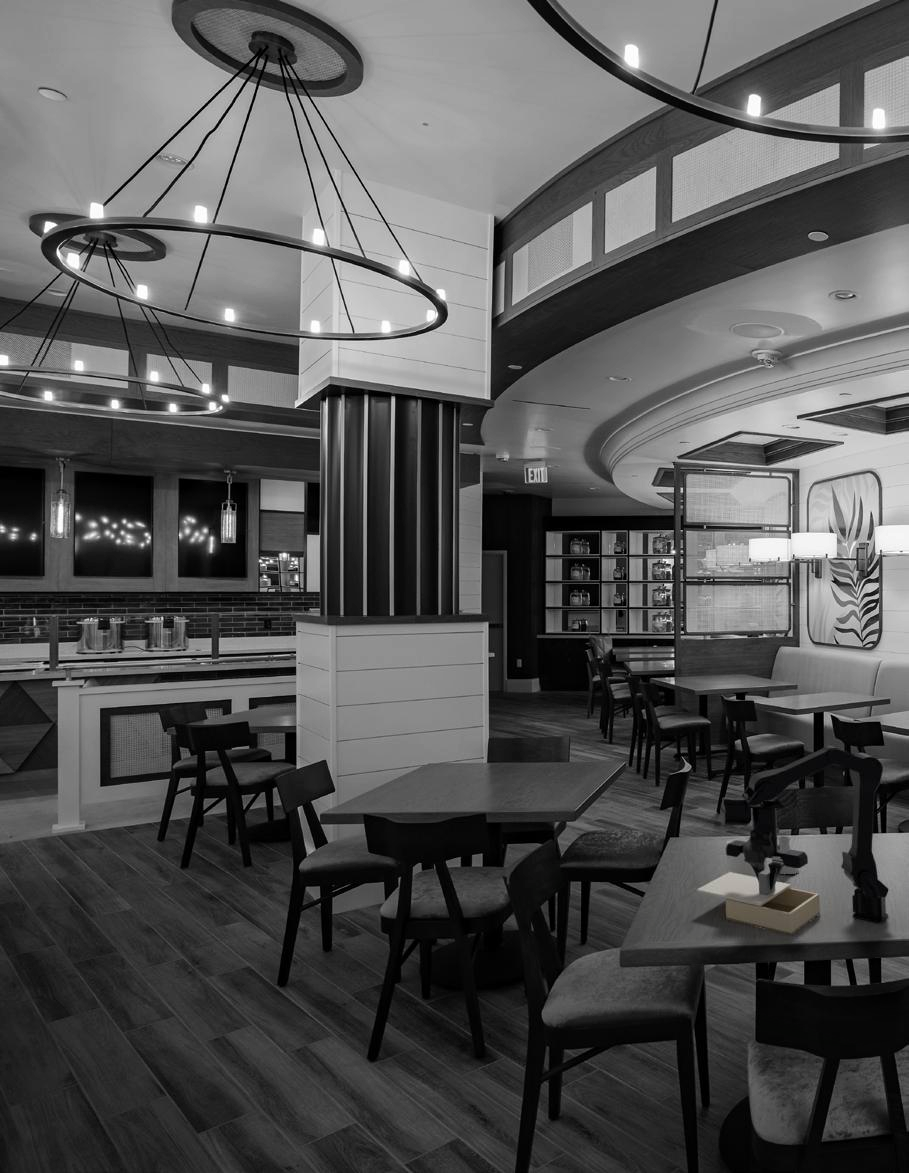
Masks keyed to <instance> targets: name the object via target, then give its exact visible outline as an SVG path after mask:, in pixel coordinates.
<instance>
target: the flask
mask: <svg viewBox="0 0 909 1173" xmlns="http://www.w3.org/2000/svg"><path fill="white" fill-rule="evenodd" d="M777 840H778V845H780V849H779V850H778V852H783V853H786V852H787V851H789V850H791V846H790V841H791V837H789V836H785V835H779V836H777ZM796 873H797V874H799V873H800V871H799V868H792V867H787V866H783V868H782V869H781V871H780V874H779V875H782V874H784V875H783V876H786V875H785V874H795V875H797V874H796Z"/></svg>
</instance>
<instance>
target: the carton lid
mask: <svg viewBox="0 0 909 1173" xmlns="http://www.w3.org/2000/svg"><path fill="white" fill-rule="evenodd" d="M758 875H759V882H758V879H757V877H752V876H747V875H742V874H737V873H732V872H729V873H727V872H726V873H725V874H723V875H721V876H720V877H717V878H716V879H714V880H712V881H710V882H708V883H706V884H705V885H702V886H701V887H698V888H697V889H696V892H697V893H700V894H701V893H702V894H706V895H708V896H709V895H710V896H713V897H717V898H722V899H731V900H735V901H740V902H744V903H748V904H753V905H757V906H762V905H763V904H765V903H766V902H768V901H769V900H771V899H773V898H774V897H776V896H777V895H779V894H780V893H782V892H784V891H785V890H787V889H788V888H791V887H792V884H790V883H785V882H780V881H776V884H775V886H774V889H773V890H770V868H767V869H765V870H763V871H762V872H760V873H758Z"/></svg>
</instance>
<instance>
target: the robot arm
mask: <svg viewBox="0 0 909 1173" xmlns="http://www.w3.org/2000/svg"><path fill="white" fill-rule="evenodd" d="M833 765H836V766H840V767H843V768H846V769H848V770H849V774H850V779H851V783H852V786H853V790H854V791H853V792H854V793H853V809H852V813H853V814H852V834H851V847H850V848H849V850H848V852H846V851H842V854H841V855H842V856H841V857H842V863H841V866H840V867H841V869H843V873H844V875H845V877H847V879H848V880H849V881H851V882H852V885H853V887H855V889H854V892H853V893H854V894H853V895H852V897H851V898H852V899H851V900H852V901H851V902H852V912H853V914H852V918H857V919H860V920H866V921H868V922H869V921H870V922H875V923H879V924H880V923H883V921H885V920H886V919H888V917H889V914H888V913H887V910H886V909H887V908H886V907H887V905H886V898H887V895H888V893H889V888H888V887H887V886H886V885H885V884H884V883H883V882H882V881H881V880H879V879H878V878H879V876H878V869H877V863H876V860H875V857H874V854H873V832H874V816H875V814H874V813H875V812H874V810H875V794H876V792H877V790H878V787H879V786H880V784H881V781H882V776H883V771H884V767H883V764H882V762H881V761H880V760H879V759H878V758H876V757H874V756H872V755H869V754H867V753H865V752H858V753H851V752H849V751H845V750H842V749H839V748H837V747H835V746H833V745H826V746H824V747H822V748H821V749H819V750H817V751H814V752H812V753H811V754H809V755H808V754H807V755H806V756H804V757H802V758H800V759H798V760H795V761H794V762H790V763H789V764H787V765H785V766H783V767H780V768H775V769H773V768H772V769H767V770H764V771H760V772H756V773H754V774H753V775H751V776H750V778H749V782H748V786H747V788H746V789H744V791H743V792H742V795H741V796H740V798H737V797H732V798H731V797H722V798H721V804H720V809H719V812H720V813H719V814H720V821H721V825H722V826H727V827H730V826H734V827H736V826H737V827H739V826H743V827H744V826H745V827H746V826H748V824H750V823H751V822H752V829H750V833H749V838H750V839H749V840H748V841H747V842H744V841H738V840H735V841H733V842H731V843H729V844H728V845H727V846H725V855H726V856H727V855H728V856H733V857H738V856H739V855H740V854H741V853H744V857H745V859H744V861H745V862H748V863H749V864H750V865H751V866H752V868H753V870H754V872H755V874H756V877H757V879H758V882H759V875H758V873H760V872H762V871H763V870H765V868H764V861H765V859H766V860H767V859H771V862H770V863H768V864H767V865H768V869H770V890H773V889H774V886H775V884H776V882H778V878H779V875H780V874H779V873H780V871H781V869H782V868H783V866H787V867H792V868H798V869H800V868H803V867H804V866H807V864H808V863H809V861H808V859H809V858H808V855H807V853H806V852H805V851H802V850H801V851H800V850H795V849H790V850H789V851H787V852H786V853H783V852H778V850H779V849H780V845H779V840H778V834H779V833H780V828H778V824H777V823H778V820H777V818H778V817H777V809H785V808H786V805H785V804H783V803H782V802H781V801H780V799H779V798H778V796H779V795H780V794H783V792H785V790H786V789H788V787H789V786H790V785H792V784H794V783H796V782H798V781H801V780H802V779H804V778H807V777H808V776H811V775H813V774H815V773H817V772H820V771H823V770H825V769H826V768H828V767H830V766H833Z"/></svg>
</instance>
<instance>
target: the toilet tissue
mask: <svg viewBox="0 0 909 1173" xmlns="http://www.w3.org/2000/svg"><path fill="white" fill-rule="evenodd" d="M749 839H750V837H741V838H740V837H739V838H732V839H731V838H730V839H728V840H726V842H725V844H726V846H727V845H728V844H729V843H731V842H733V841H735V840H738V841H744V842H747V841H748V840H749ZM726 846H725V847H726ZM744 859H745V857H744V853H741V854H740V855H739V856H738V857H733V856H728V855H726V870H727V871H726V874H727V873H729V872H732V873H737V874H742V875H747V876H752V877H756V874H755V872H754V870H753V868H752V866H751V865H750V864H749V863H748V862H745V861H744ZM767 865H768V864H767V858H766V859H765V861H764V868H765V869H768V868H767Z"/></svg>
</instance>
